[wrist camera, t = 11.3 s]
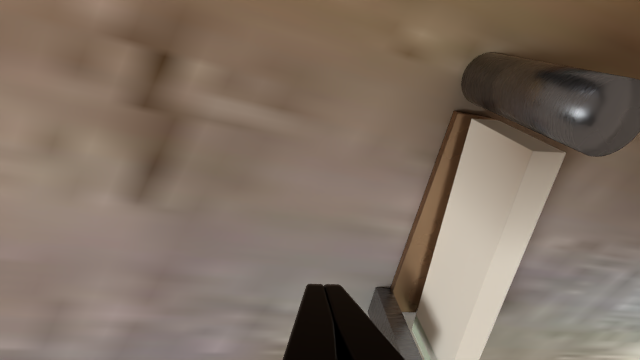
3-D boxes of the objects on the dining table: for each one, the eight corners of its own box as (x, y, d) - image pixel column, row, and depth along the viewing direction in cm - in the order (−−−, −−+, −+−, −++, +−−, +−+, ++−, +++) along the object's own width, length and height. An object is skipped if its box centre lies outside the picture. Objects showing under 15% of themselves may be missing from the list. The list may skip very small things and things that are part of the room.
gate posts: (457, 44, 18) (577, 66, 11) (518, 57, 19) (667, 86, 12) (367, 312, 26) (404, 425, 19) (413, 314, 27) (464, 424, 20)
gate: (471, 118, 19) (549, 160, 14) (498, 119, 19) (585, 161, 14) (411, 330, 26) (448, 412, 21) (431, 329, 26) (472, 410, 21)
